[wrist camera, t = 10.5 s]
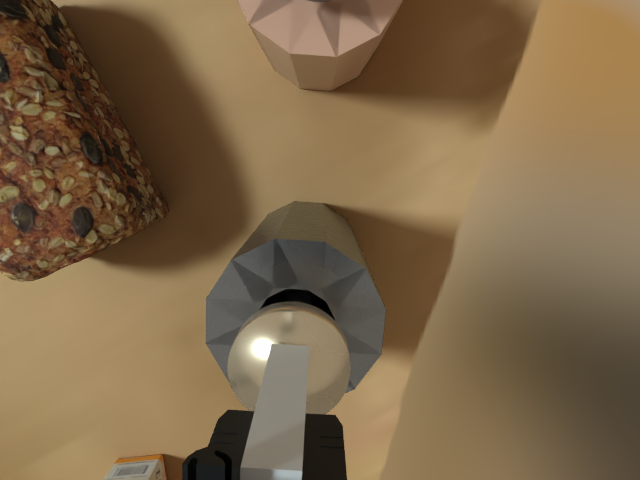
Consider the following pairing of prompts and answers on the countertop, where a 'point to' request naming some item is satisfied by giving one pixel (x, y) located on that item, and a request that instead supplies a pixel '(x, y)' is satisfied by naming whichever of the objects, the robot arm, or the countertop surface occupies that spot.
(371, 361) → the faceted cylinder
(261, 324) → the steel plunger
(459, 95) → the countertop surface
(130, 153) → the bread
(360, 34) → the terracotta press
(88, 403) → the countertop surface
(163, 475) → the supplement box
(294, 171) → the countertop surface
